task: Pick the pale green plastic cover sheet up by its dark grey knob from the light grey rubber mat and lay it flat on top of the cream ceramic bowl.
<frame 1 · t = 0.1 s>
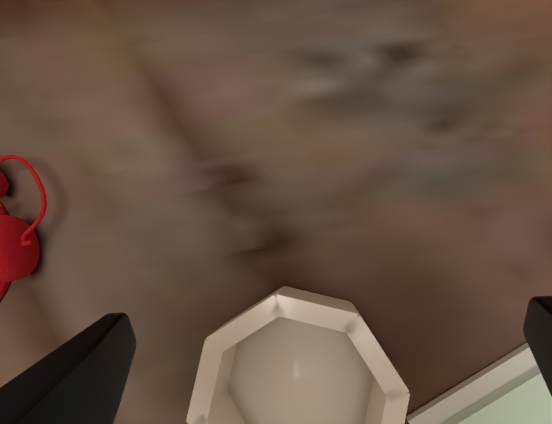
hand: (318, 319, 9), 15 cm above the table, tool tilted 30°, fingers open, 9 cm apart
bowl: (300, 374, 23), on the table
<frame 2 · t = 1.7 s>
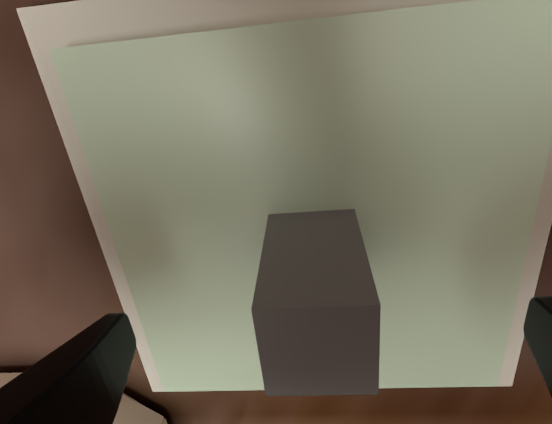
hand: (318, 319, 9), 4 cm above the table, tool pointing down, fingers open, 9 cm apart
cover sheet: (312, 234, 12), point 1 cm above the table, touching mat
mat: (312, 225, 12), on the table
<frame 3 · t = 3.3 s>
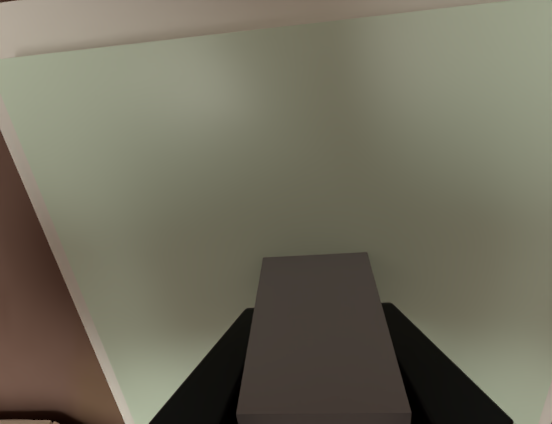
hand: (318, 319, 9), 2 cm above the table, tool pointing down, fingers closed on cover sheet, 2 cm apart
cover sheet: (316, 276, 10), point 1 cm above the table, touching gripper, mat
mat: (315, 263, 11), on the table
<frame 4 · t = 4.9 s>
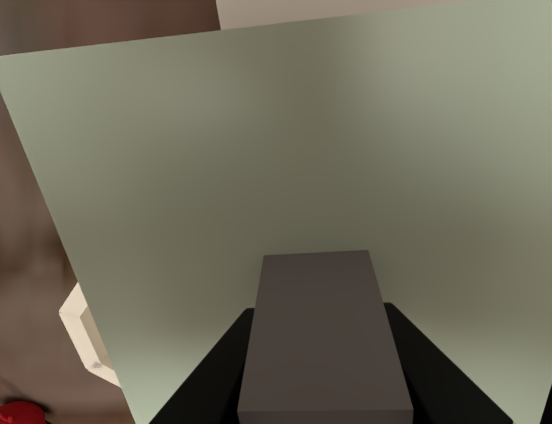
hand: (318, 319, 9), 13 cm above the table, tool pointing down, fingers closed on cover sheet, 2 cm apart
cover sheet: (317, 274, 10), point 11 cm above the table, touching gripper
mat: (379, 73, 18), on the table
bowl: (188, 279, 24), on the table
when the fingers open (8 cm above the table, at t = 6.8 s): cover sheet drops 2 cm, resting on bowl.
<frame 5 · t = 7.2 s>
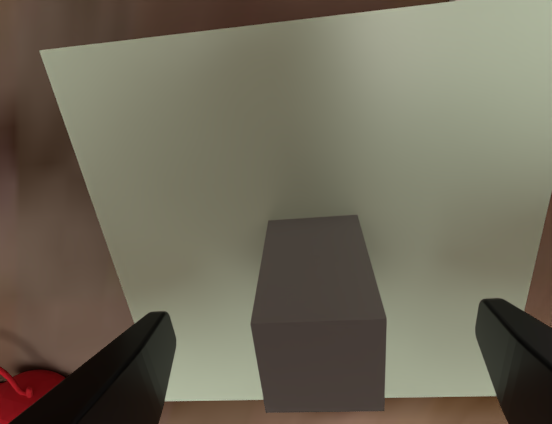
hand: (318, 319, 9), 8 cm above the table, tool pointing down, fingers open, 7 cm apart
cover sheet: (314, 240, 12), point 5 cm above the table, touching bowl
alarm clock: (32, 413, 25), on the table
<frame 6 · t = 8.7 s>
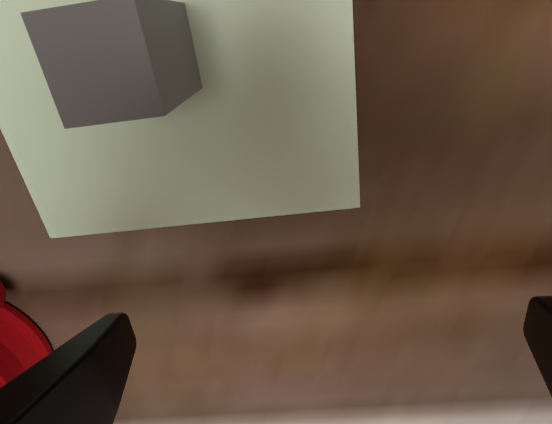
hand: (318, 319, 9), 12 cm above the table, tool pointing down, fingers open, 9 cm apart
cover sheet: (164, 50, 12), point 5 cm above the table, touching bowl
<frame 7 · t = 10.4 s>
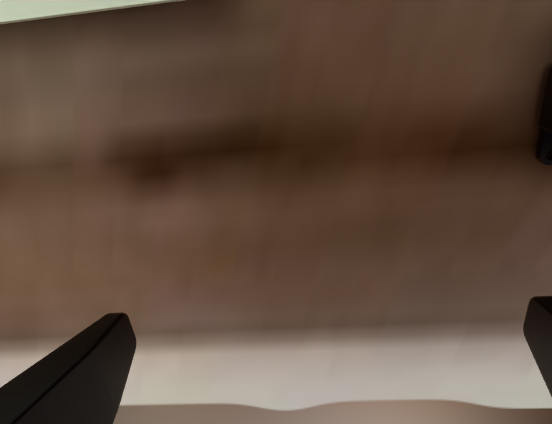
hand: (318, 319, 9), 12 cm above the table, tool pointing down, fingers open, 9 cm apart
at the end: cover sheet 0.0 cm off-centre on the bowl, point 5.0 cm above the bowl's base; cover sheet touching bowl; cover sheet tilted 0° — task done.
